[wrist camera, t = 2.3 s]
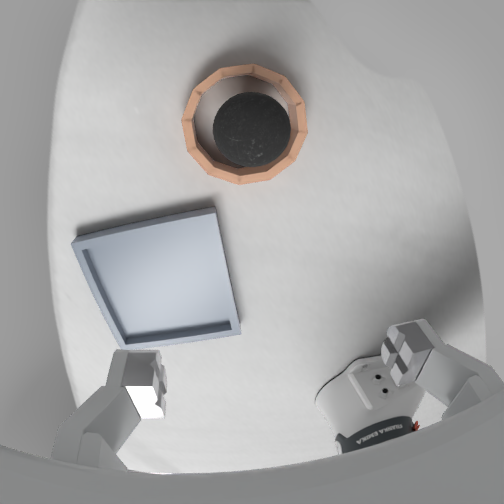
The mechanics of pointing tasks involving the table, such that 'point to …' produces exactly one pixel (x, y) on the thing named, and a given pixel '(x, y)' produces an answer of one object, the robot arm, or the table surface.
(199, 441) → the table surface
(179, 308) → the tray
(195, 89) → the ring
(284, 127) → the light bulb
